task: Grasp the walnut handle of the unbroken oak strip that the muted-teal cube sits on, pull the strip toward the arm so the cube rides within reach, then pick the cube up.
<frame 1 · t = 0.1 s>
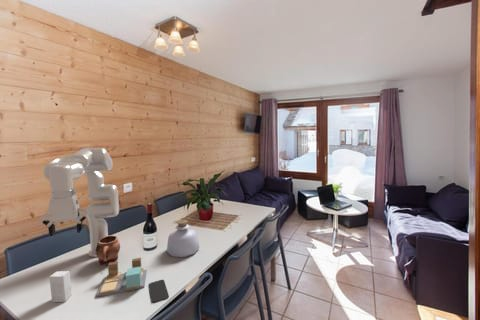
hand: (66, 233, 98), 31 cm above the table, fingers open, 9 cm apart
decorative planter: (109, 262, 132), on the table
skincare box: (62, 299, 103), on the table
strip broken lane: (112, 272, 114), point 5 cm above the table, slide at 0.0 cm
strip cube lane: (135, 272, 114), point 5 cm above the table, slide at 0.0 cm, touching cube
phone: (158, 291, 107), on the table
lane board: (123, 282, 113), on the table
light grey vase: (183, 250, 146), on the table
cube: (134, 282, 110), point 2 cm above the table, touching strip cube lane
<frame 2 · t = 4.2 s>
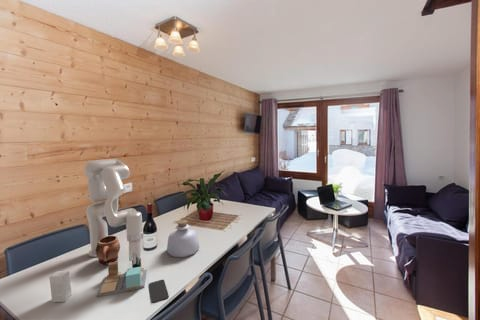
hand: (137, 269, 120), 3 cm above the table, fingers closed on strip cube lane, 2 cm apart
strip cube lane: (135, 272, 114), point 5 cm above the table, slide at 0.0 cm, touching cube, gripper
everything else where it was.
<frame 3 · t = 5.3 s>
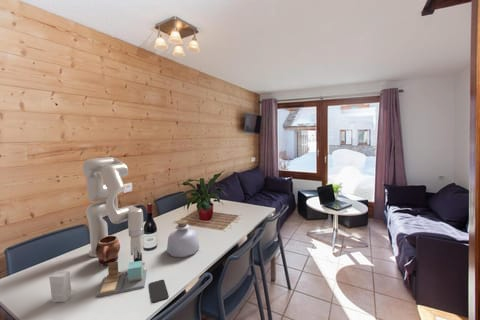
hand: (138, 263, 126), 3 cm above the table, fingers closed on strip cube lane, 2 cm apart
strip cube lane: (136, 266, 119), point 5 cm above the table, slide at 5.7 cm, touching cube, gripper
cube: (135, 275, 115), point 2 cm above the table, touching strip cube lane
everything else where it was.
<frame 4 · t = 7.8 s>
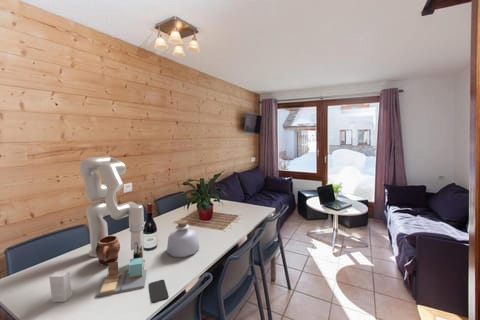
hand: (137, 256, 129), 5 cm above the table, fingers open, 9 cm apart
strip cube lane: (137, 263, 123), point 5 cm above the table, slide at 9.0 cm, touching cube
cube: (136, 272, 119), point 2 cm above the table, touching strip cube lane
everything else where it was.
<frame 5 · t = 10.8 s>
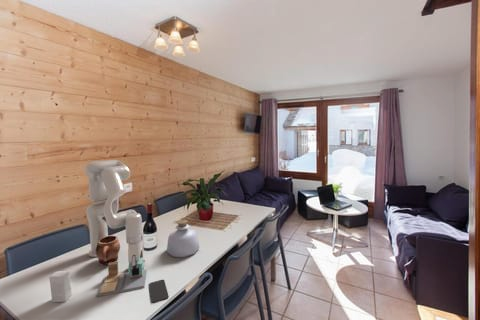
hand: (136, 270, 118), 3 cm above the table, fingers open, 6 cm apart
cube: (136, 272, 119), point 2 cm above the table, touching gripper, strip cube lane
everything else where it was.
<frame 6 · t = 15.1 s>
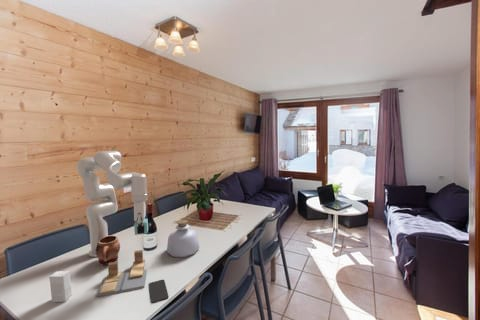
hand: (141, 230, 122), 22 cm above the table, fingers closed on cube, 6 cm apart
strip cube lane: (137, 263, 122), point 5 cm above the table, slide at 8.8 cm
cube: (141, 231, 122), point 22 cm above the table, touching gripper
everything else where it was.
at the end: strip cube lane slide at 8.8 cm; cube point 21.6 cm above the table; the gripper is holding cube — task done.
